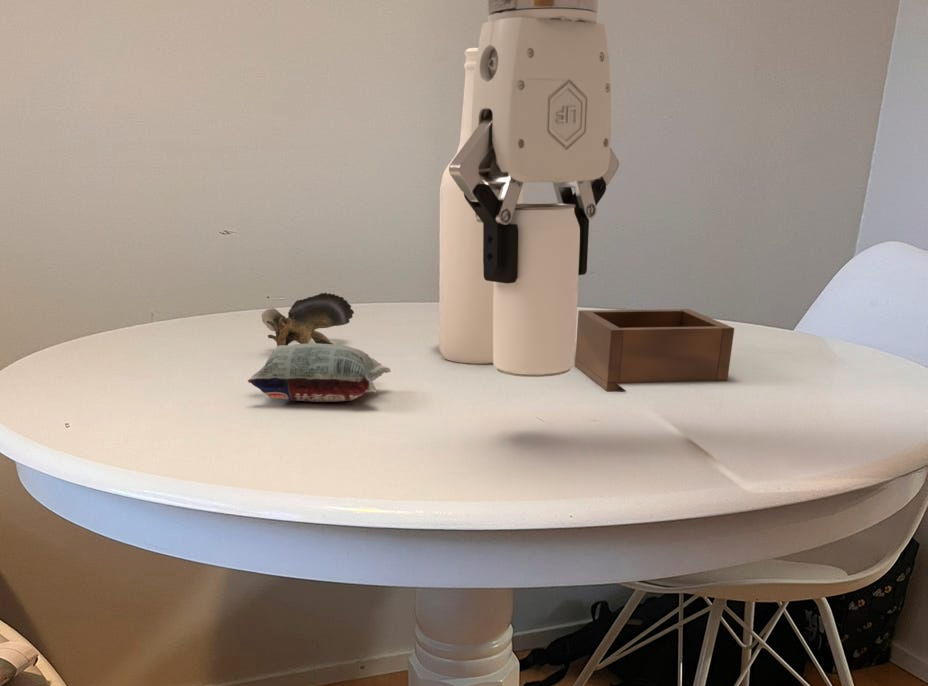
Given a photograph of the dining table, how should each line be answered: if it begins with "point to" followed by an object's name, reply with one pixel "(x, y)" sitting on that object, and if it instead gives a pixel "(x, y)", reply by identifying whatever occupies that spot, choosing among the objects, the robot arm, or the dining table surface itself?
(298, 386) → the packaged food
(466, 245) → the alcohol
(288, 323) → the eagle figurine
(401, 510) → the dining table surface
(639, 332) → the box
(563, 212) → the can
